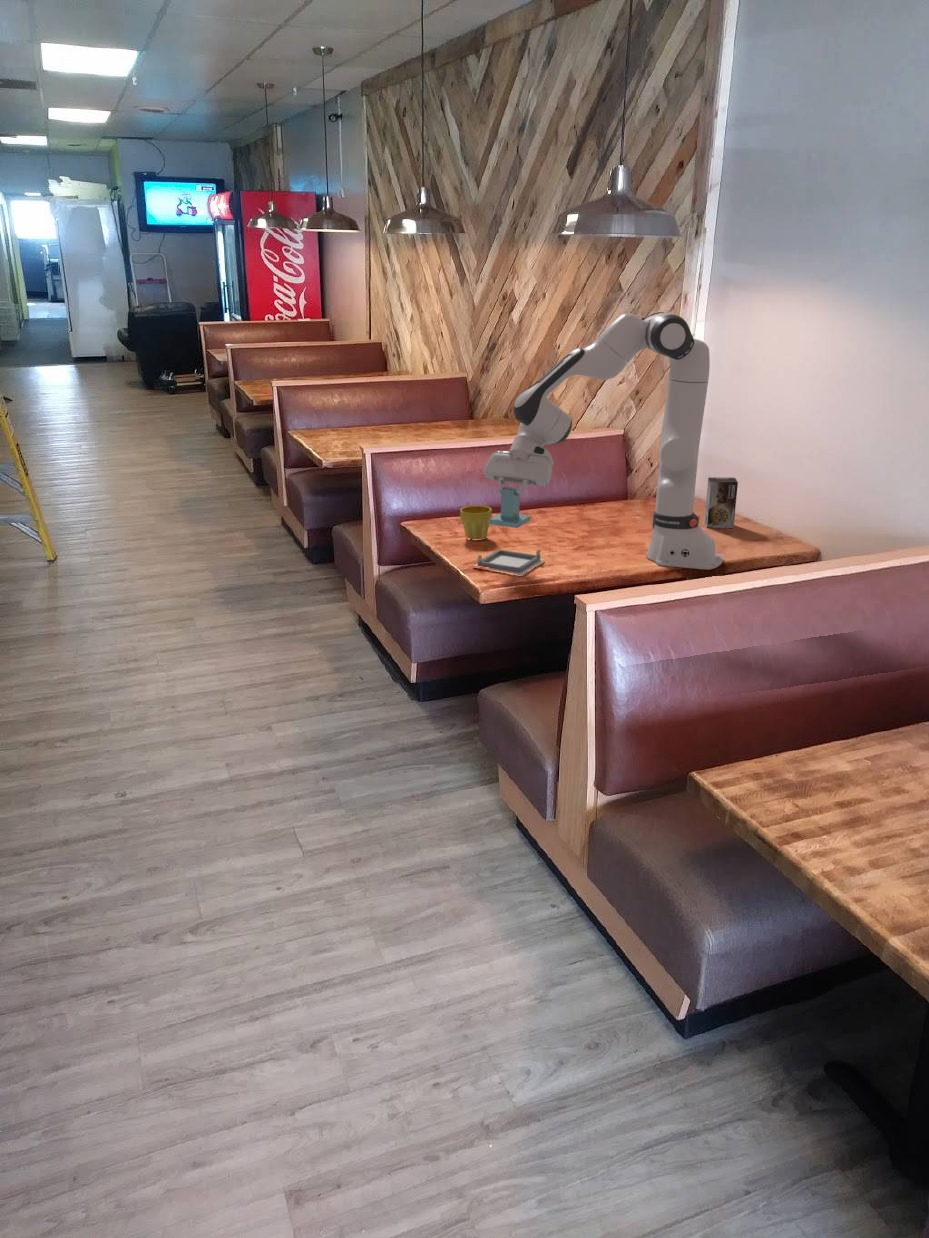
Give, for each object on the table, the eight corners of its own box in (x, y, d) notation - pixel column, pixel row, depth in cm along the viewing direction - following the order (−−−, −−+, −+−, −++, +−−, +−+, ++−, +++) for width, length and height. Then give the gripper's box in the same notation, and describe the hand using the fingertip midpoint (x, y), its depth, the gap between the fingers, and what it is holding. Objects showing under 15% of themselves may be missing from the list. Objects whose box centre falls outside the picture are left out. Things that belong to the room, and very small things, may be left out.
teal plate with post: (530, 520, 267) (531, 487, 264) (517, 528, 260) (517, 494, 256) (503, 516, 271) (503, 484, 268) (489, 524, 264) (489, 490, 260)
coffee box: (730, 523, 312) (735, 477, 306) (733, 528, 306) (739, 481, 300) (703, 522, 313) (707, 476, 307) (706, 528, 307) (710, 481, 301)
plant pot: (453, 537, 297) (453, 508, 294) (477, 532, 304) (477, 503, 300) (474, 544, 290) (474, 515, 286) (498, 538, 296) (498, 509, 293)
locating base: (544, 561, 274) (545, 549, 272) (521, 577, 260) (522, 563, 259) (497, 554, 281) (497, 541, 279) (472, 568, 268) (472, 555, 266)
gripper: (489, 444, 268) (474, 483, 264) (553, 450, 259) (538, 491, 255) (496, 456, 274) (481, 495, 269) (558, 463, 264) (544, 503, 260)
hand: (509, 493), depth 262 cm, fingers closed on teal plate with post, 4 cm apart
